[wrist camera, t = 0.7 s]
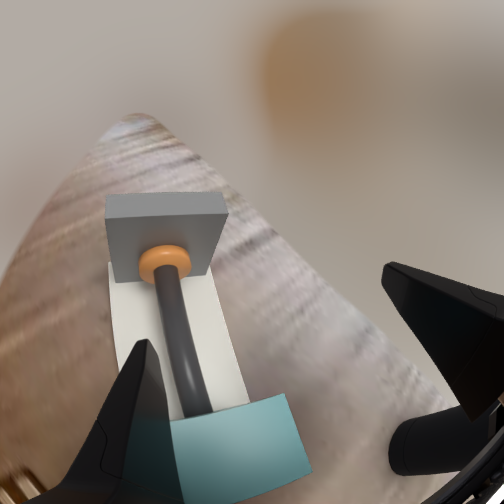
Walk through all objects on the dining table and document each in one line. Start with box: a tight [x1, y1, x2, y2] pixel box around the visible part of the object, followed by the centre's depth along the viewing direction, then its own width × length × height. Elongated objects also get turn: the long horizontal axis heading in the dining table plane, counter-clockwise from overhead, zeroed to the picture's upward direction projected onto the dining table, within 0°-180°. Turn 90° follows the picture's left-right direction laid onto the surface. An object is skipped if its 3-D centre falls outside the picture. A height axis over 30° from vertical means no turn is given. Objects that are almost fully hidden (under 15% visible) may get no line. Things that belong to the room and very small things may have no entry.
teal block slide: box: [105, 192, 250, 420], centre depth 14 cm, size 18×8×8 cm, turn 18°
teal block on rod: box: [170, 393, 313, 504], centre depth 10 cm, size 4×5×8 cm
